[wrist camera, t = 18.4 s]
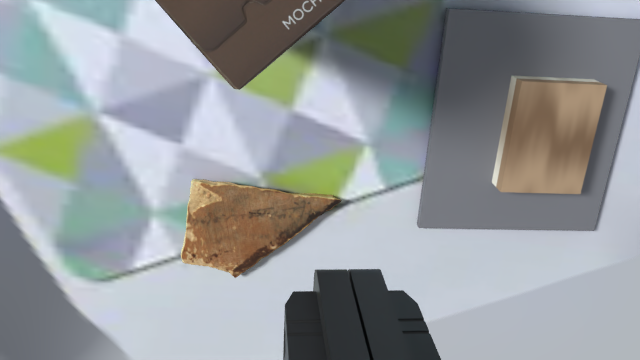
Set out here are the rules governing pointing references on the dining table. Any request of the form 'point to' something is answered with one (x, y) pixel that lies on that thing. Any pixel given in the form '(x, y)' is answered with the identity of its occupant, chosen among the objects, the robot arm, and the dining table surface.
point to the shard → (244, 223)
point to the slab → (547, 134)
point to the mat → (489, 108)
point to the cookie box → (245, 30)
